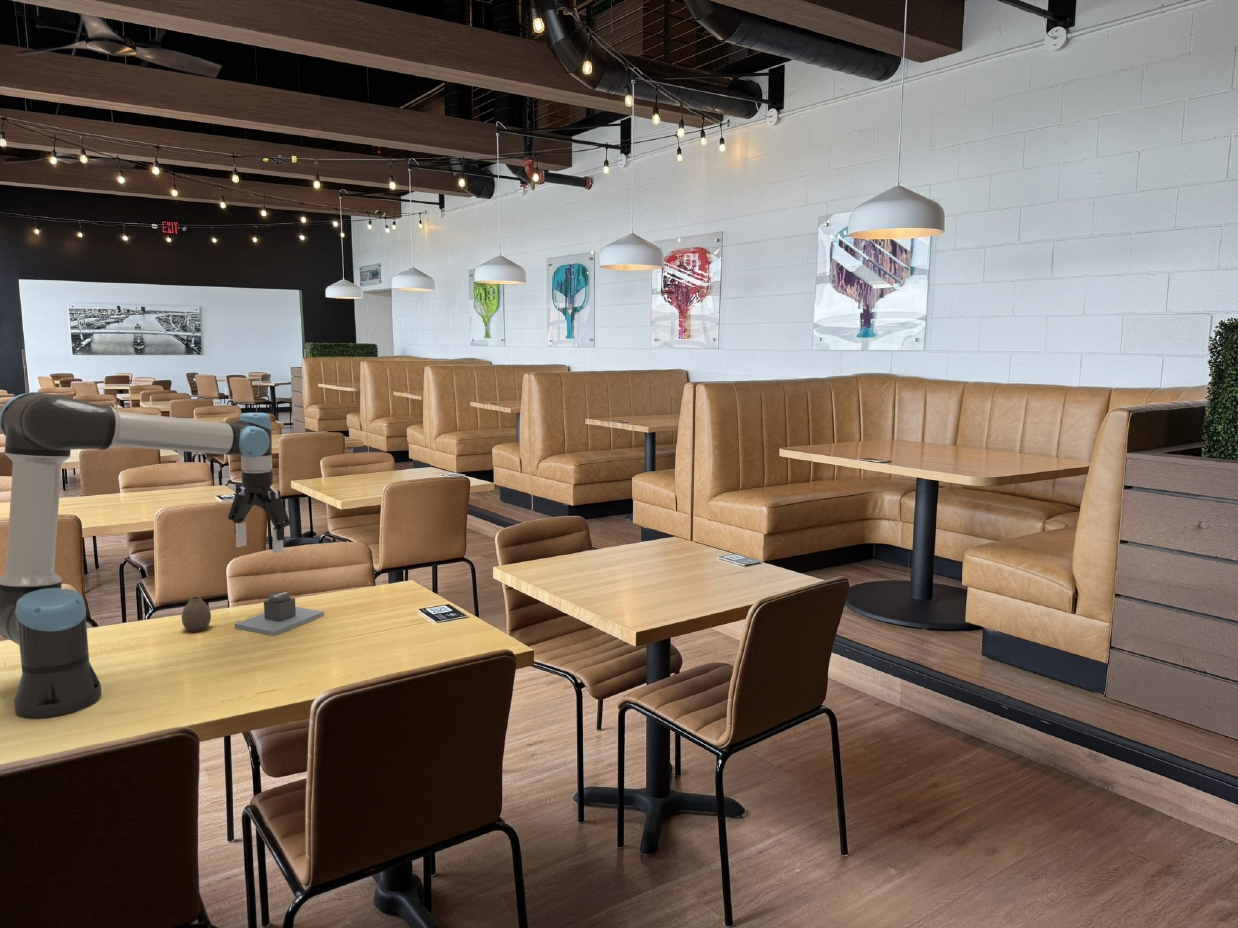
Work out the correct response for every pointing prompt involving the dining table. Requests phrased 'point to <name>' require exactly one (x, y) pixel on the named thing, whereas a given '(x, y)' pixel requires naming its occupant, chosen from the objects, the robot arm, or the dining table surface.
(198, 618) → the vase
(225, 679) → the dining table surface
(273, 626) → the gray rectangular base plate
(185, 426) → the robot arm
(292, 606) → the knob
